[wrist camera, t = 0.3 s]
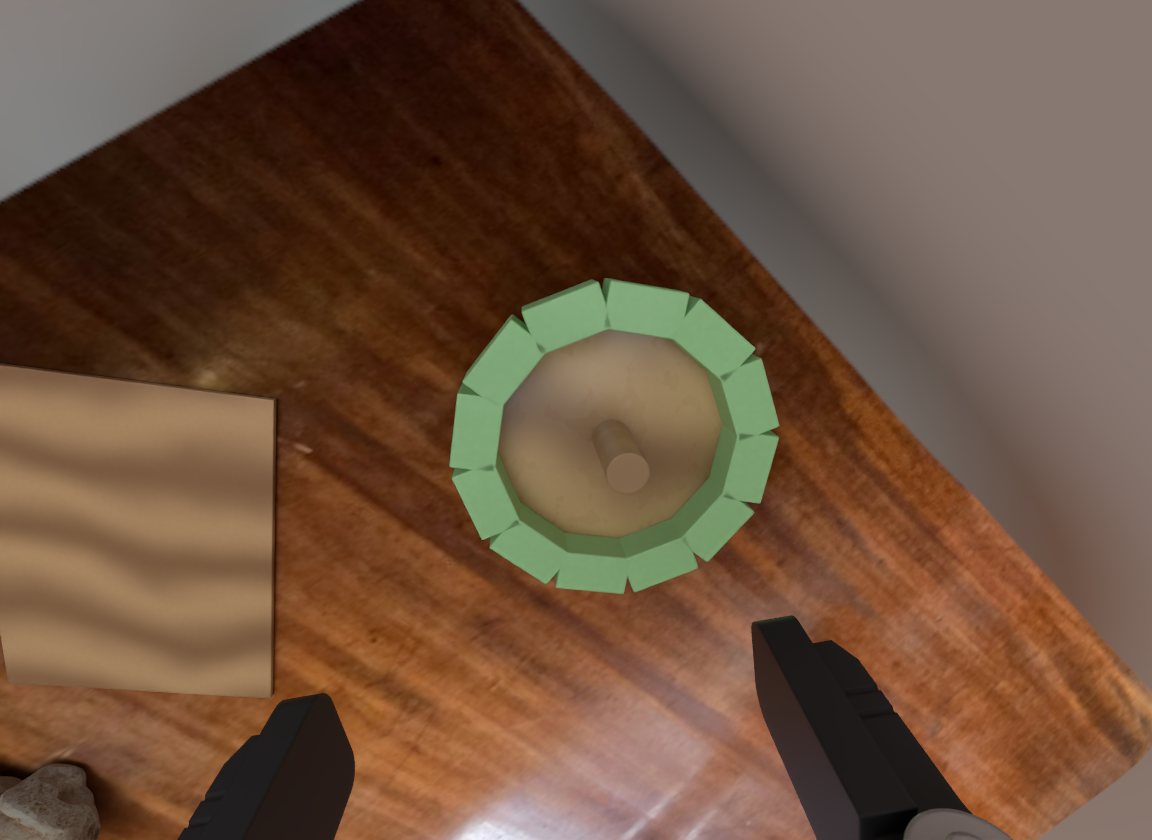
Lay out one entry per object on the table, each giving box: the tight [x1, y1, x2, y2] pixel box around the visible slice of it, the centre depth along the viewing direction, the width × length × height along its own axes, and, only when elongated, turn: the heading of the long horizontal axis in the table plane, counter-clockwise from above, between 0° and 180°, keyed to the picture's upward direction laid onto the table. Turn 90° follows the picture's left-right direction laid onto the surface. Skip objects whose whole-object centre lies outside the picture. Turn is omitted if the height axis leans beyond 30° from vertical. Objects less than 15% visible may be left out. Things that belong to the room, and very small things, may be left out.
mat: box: [0, 363, 277, 698], centre depth 31 cm, size 20×15×1 cm
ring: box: [450, 278, 779, 594], centre depth 25 cm, size 15×15×2 cm
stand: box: [498, 329, 722, 538], centre depth 27 cm, size 12×12×10 cm
